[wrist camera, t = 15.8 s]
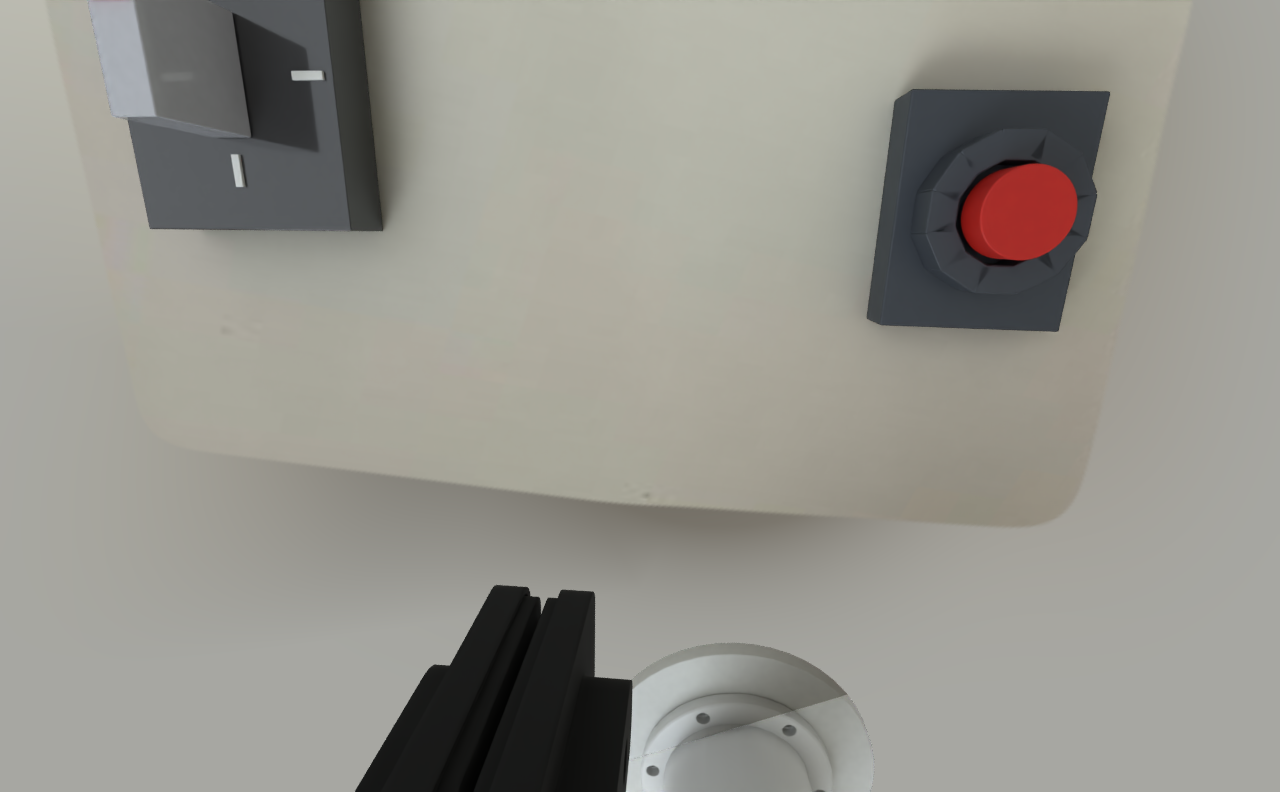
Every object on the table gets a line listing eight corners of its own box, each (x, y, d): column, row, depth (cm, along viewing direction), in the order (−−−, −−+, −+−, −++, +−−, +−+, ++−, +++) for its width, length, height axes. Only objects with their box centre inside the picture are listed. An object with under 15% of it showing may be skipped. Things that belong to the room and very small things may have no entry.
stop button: (1041, 260, 25) (1067, 261, 23) (953, 257, 25) (972, 259, 23) (1060, 169, 24) (1088, 164, 22) (968, 167, 24) (989, 162, 22)
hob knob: (252, 137, 27) (150, 115, 22) (214, 137, 27) (104, 115, 22) (232, 11, 25) (119, -44, 20) (193, 12, 25) (70, -43, 20)
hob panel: (383, 231, 30) (349, 230, 27) (199, 229, 31) (146, 229, 28) (352, -66, 27) (310, -105, 24) (146, -61, 28) (79, -97, 24)
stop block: (1032, 324, 29) (1084, 338, 25) (866, 318, 30) (892, 331, 26) (1077, 102, 26) (1144, 79, 22) (894, 100, 27) (929, 77, 23)
